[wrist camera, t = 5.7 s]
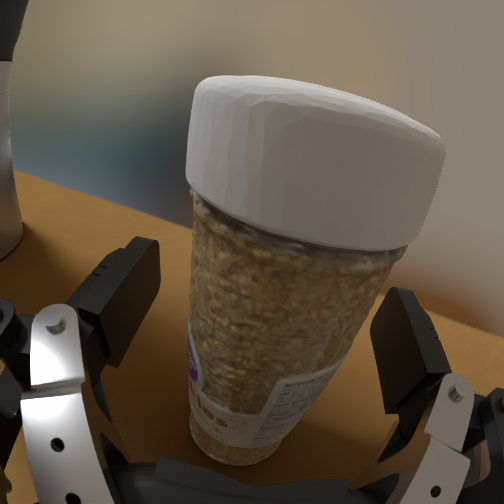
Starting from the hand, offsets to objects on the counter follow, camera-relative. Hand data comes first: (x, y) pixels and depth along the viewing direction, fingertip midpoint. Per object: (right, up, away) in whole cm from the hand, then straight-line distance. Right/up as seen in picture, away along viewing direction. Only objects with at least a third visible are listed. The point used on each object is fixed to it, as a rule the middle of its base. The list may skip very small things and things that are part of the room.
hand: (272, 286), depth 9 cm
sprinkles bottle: (-1, -7, +2) cm, 8 cm away
